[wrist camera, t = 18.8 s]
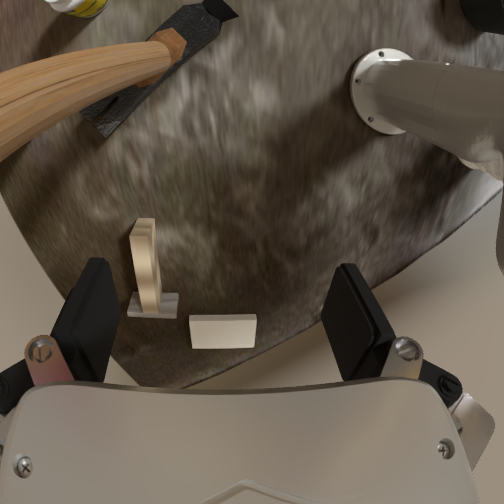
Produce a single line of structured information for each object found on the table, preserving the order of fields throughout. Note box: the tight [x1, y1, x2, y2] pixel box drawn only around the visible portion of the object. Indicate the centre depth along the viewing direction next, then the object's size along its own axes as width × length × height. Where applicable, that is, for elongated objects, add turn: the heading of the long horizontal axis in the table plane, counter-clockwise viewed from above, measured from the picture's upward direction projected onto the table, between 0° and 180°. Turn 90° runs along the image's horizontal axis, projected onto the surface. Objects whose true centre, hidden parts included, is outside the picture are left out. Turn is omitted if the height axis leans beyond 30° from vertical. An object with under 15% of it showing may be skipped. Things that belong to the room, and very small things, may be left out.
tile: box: [189, 314, 257, 348], centre depth 54 cm, size 12×2×8 cm
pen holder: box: [460, 0, 504, 35], centre depth 19 cm, size 9×9×10 cm
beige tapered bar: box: [127, 218, 179, 318], centre depth 42 cm, size 15×8×5 cm, turn 175°
